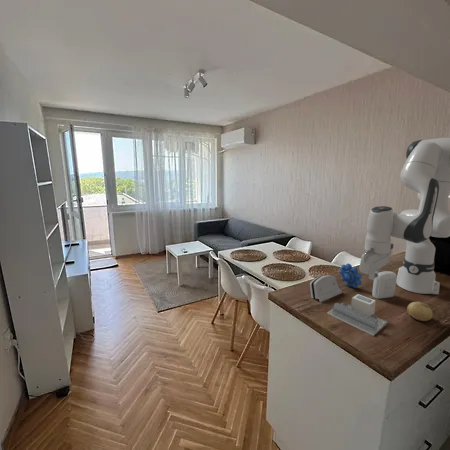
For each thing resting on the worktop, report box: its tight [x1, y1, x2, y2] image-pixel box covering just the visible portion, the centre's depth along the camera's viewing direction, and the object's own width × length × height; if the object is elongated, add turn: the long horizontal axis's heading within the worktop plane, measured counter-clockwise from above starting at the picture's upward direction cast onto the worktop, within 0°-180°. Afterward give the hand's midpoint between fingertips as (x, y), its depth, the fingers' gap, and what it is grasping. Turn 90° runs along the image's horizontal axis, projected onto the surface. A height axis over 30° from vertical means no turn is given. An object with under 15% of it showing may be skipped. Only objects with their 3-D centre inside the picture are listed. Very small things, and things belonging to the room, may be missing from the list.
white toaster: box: [309, 274, 343, 303], centre depth 117 cm, size 17×5×10 cm, turn 122°
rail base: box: [327, 302, 389, 337], centre depth 98 cm, size 12×18×4 cm, turn 37°
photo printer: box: [371, 270, 398, 299], centre depth 114 cm, size 10×4×12 cm, turn 103°
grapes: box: [338, 263, 363, 289], centre depth 124 cm, size 12×7×12 cm, turn 34°
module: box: [350, 293, 377, 316], centre depth 100 cm, size 5×7×6 cm
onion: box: [406, 301, 434, 322], centre depth 97 cm, size 8×8×7 cm
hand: (373, 278), depth 102 cm, fingers closed
